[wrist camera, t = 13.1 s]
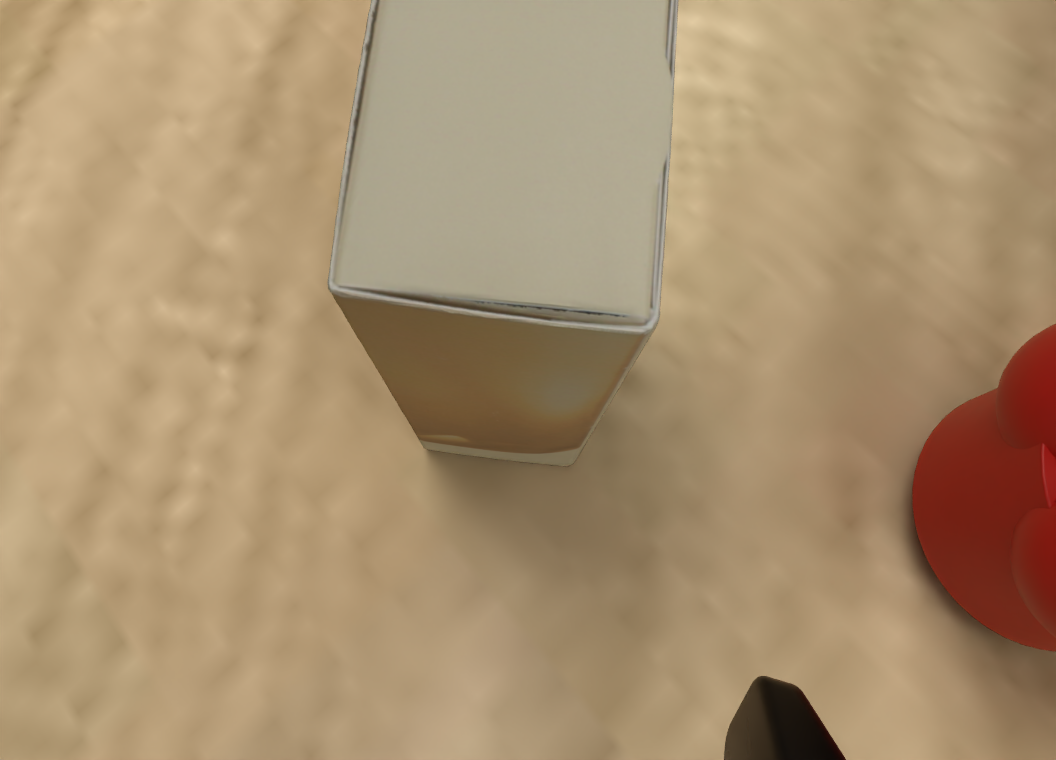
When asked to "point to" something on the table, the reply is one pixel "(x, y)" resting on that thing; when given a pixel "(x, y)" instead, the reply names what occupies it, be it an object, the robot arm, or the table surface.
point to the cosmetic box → (507, 213)
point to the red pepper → (997, 499)
